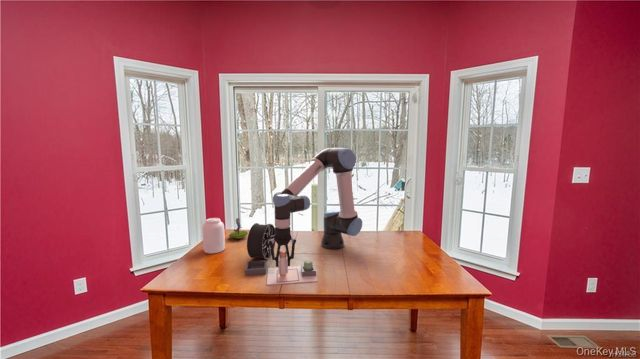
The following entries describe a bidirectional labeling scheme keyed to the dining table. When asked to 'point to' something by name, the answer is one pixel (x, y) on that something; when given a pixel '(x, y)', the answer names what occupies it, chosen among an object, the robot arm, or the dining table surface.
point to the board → (288, 276)
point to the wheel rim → (260, 240)
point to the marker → (282, 263)
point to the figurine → (239, 233)
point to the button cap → (308, 265)
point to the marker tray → (255, 268)
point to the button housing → (308, 272)
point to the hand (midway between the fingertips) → (283, 272)
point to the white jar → (213, 236)
